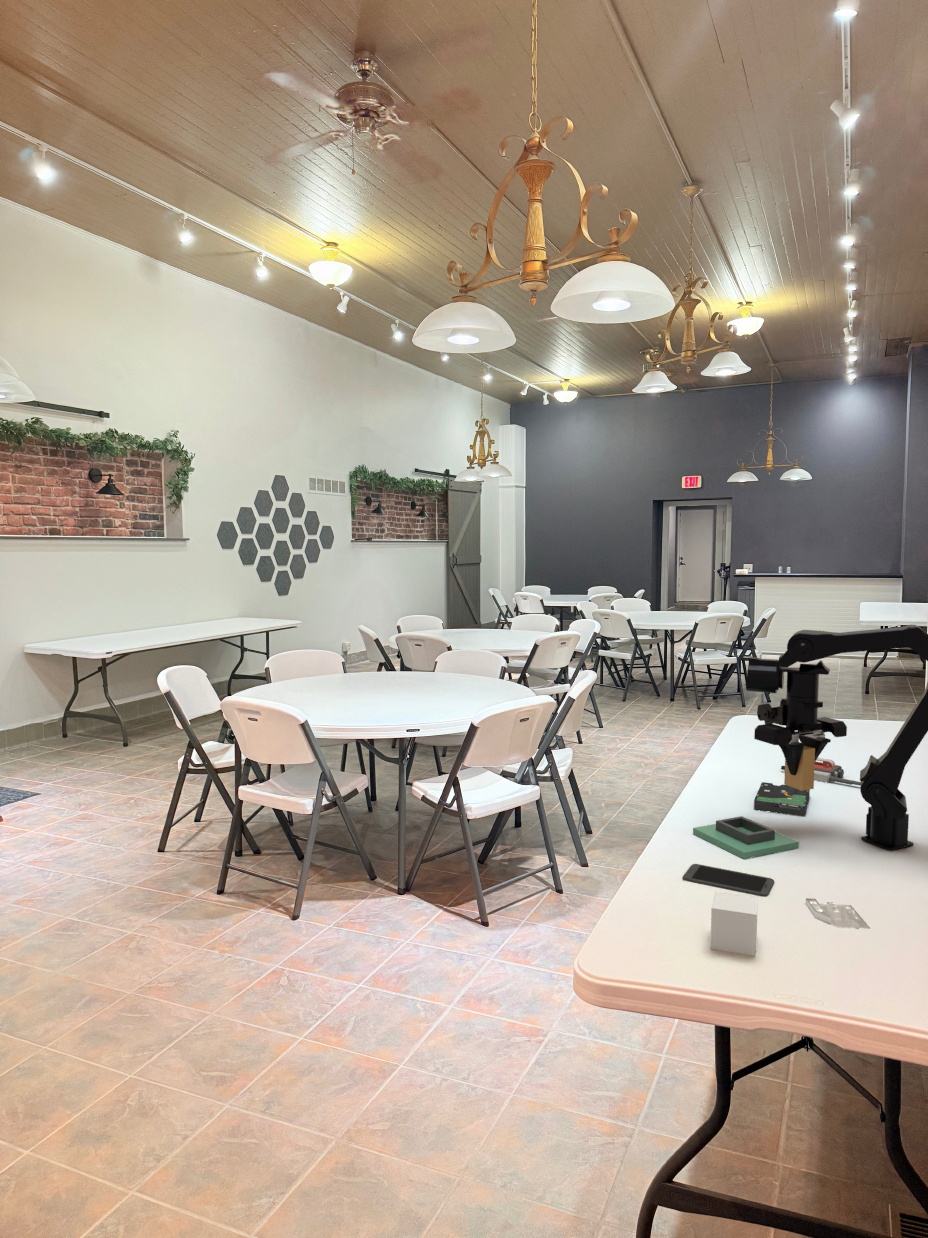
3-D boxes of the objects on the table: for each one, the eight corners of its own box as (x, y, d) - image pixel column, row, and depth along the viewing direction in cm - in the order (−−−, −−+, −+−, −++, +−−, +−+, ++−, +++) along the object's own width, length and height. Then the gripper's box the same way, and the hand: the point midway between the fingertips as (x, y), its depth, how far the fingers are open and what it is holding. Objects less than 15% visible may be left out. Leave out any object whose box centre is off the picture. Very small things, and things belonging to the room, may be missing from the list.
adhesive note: (756, 937, 118) (758, 897, 117) (755, 957, 112) (757, 915, 111) (713, 930, 120) (714, 890, 119) (710, 949, 114) (711, 908, 114)
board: (798, 848, 151) (799, 832, 151) (744, 859, 146) (744, 843, 146) (744, 824, 164) (745, 810, 164) (693, 834, 159) (693, 819, 158)
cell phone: (692, 867, 144) (692, 862, 144) (775, 883, 137) (775, 879, 137) (680, 882, 137) (680, 877, 137) (767, 900, 130) (767, 895, 130)
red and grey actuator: (776, 775, 200) (862, 791, 186) (777, 757, 200) (863, 773, 186) (791, 767, 206) (875, 783, 193) (791, 750, 206) (876, 765, 192)
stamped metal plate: (805, 907, 128) (805, 898, 128) (850, 909, 127) (851, 899, 127) (822, 930, 120) (822, 920, 120) (870, 932, 120) (871, 923, 120)
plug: (813, 788, 158) (815, 748, 157) (802, 790, 157) (803, 750, 156) (792, 781, 163) (794, 742, 162) (781, 783, 162) (782, 743, 161)
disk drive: (760, 793, 186) (753, 812, 173) (760, 781, 186) (753, 799, 173) (809, 799, 182) (806, 819, 168) (810, 787, 181) (806, 805, 168)
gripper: (805, 685, 169) (802, 758, 170) (735, 692, 161) (733, 769, 163) (850, 694, 159) (847, 772, 160) (777, 702, 151) (774, 784, 153)
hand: (799, 773), depth 159 cm, fingers closed on plug, 3 cm apart
